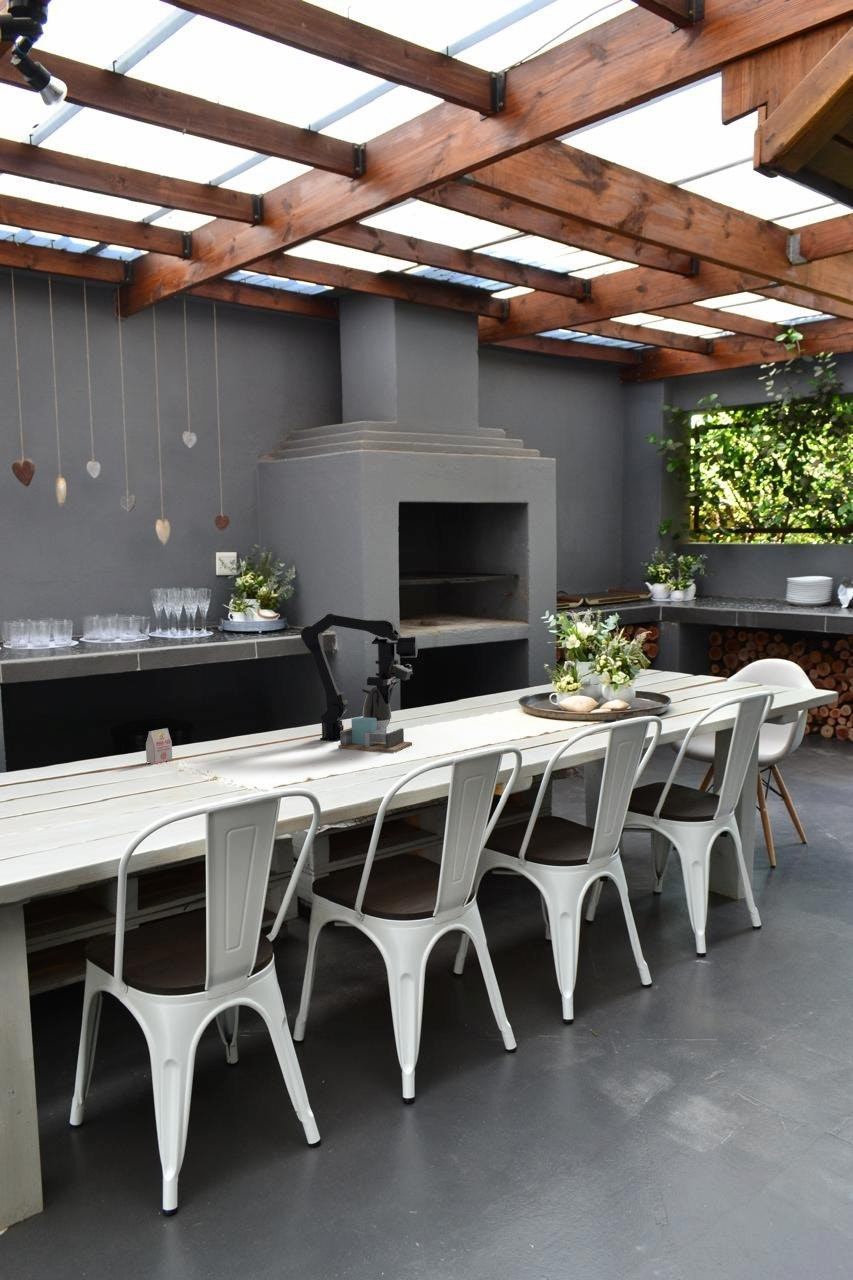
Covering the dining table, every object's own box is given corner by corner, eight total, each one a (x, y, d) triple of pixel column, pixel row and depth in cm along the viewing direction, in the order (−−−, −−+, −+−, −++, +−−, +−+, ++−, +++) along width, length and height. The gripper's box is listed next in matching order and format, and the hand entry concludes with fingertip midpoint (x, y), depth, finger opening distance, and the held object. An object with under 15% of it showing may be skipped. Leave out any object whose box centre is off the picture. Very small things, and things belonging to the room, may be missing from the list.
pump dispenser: (361, 726, 365) (360, 684, 363) (390, 725, 366) (389, 683, 365) (363, 731, 355) (362, 688, 353) (392, 730, 356) (391, 687, 354)
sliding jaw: (365, 746, 322) (365, 733, 321) (382, 740, 333) (382, 726, 332) (387, 748, 318) (387, 734, 318) (404, 741, 329) (404, 728, 329)
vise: (338, 748, 325) (338, 731, 325) (357, 741, 337) (357, 724, 337) (394, 752, 317) (393, 735, 316) (412, 745, 329) (411, 728, 328)
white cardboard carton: (146, 763, 308) (145, 730, 307) (164, 759, 314) (163, 727, 313) (154, 764, 306) (152, 732, 305) (172, 760, 311) (171, 728, 310)
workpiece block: (352, 743, 328) (351, 719, 328) (358, 741, 332) (357, 717, 331) (371, 744, 325) (370, 720, 325) (377, 742, 329) (376, 718, 328)
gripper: (395, 661, 325) (396, 709, 327) (420, 655, 342) (421, 700, 344) (365, 660, 330) (366, 707, 331) (390, 654, 347) (391, 699, 348)
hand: (387, 703), depth 339 cm, fingers closed
